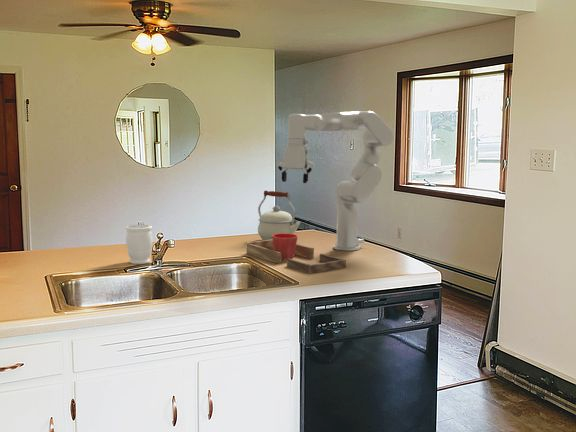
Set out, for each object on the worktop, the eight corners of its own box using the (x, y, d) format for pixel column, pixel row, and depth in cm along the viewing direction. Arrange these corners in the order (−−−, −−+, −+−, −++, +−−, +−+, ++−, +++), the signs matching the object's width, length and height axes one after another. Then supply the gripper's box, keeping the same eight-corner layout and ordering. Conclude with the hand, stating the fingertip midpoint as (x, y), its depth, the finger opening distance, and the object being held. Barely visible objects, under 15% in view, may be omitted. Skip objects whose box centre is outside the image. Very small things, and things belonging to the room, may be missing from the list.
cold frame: (279, 249, 274) (279, 238, 274) (313, 258, 255) (313, 246, 254) (246, 253, 263) (246, 242, 263) (279, 263, 244) (279, 251, 243)
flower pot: (294, 260, 250) (295, 238, 248) (269, 259, 252) (269, 236, 251) (299, 255, 260) (299, 233, 259) (275, 254, 262) (275, 232, 261)
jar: (157, 260, 247) (157, 225, 245) (144, 265, 238) (143, 229, 235) (135, 258, 251) (134, 223, 249) (121, 263, 241) (120, 227, 239)
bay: (321, 260, 250) (321, 253, 250) (346, 267, 238) (346, 260, 238) (286, 266, 239) (286, 258, 239) (310, 273, 227) (310, 265, 227)
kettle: (247, 241, 293) (247, 191, 289) (269, 236, 308) (269, 188, 304) (289, 247, 279) (289, 194, 275) (310, 241, 294) (310, 191, 290)
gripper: (317, 143, 257) (316, 183, 259) (281, 142, 263) (279, 180, 265) (312, 143, 250) (310, 183, 252) (274, 141, 256) (273, 181, 258)
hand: (294, 182), depth 259 cm, fingers open, 9 cm apart
